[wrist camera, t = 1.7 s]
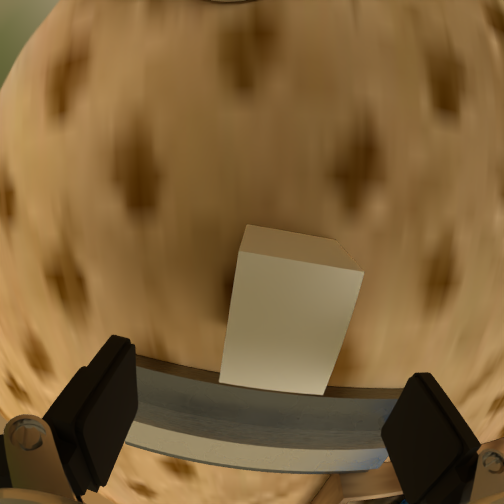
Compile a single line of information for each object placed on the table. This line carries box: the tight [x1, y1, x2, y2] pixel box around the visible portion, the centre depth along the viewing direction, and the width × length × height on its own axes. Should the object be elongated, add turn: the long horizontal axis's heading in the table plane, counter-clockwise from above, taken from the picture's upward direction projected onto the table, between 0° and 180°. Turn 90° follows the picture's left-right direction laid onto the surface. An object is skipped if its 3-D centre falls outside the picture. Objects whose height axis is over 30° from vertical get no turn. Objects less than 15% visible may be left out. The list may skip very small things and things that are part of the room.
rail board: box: [125, 355, 403, 474], centre depth 19 cm, size 22×10×3 cm, turn 81°
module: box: [219, 224, 365, 395], centre depth 15 cm, size 5×6×5 cm
